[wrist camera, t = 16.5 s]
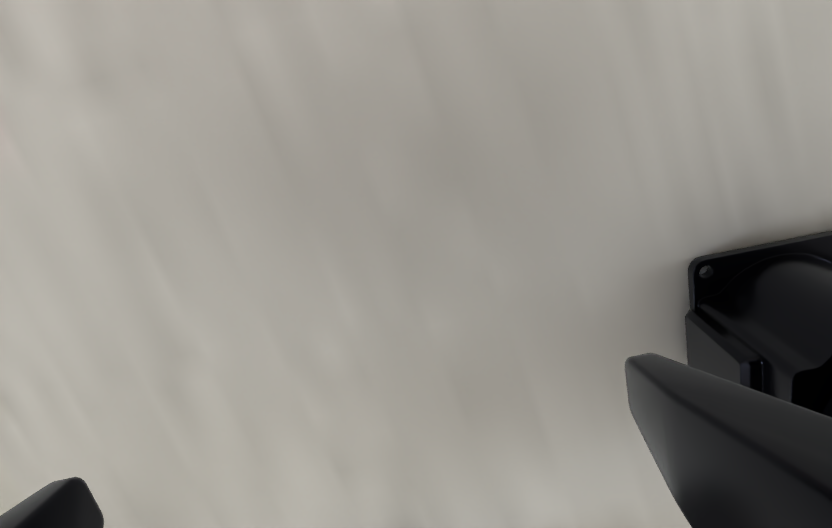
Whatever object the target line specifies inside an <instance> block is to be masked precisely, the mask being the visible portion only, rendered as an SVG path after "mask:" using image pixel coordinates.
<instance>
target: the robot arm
mask: <svg viewBox="0 0 832 528" xmlns="http://www.w3.org/2000/svg"><path fill="white" fill-rule="evenodd" d="M704 266H707V267H708V268H707V271H706V272H705V273H704V274H702V275H700V274H699V272H700V269H701V268H702V267H704ZM688 280H689V299H690V310H689V311H688V313H687V314H686V316H685V324H686V341H687V359H688V365H685V364H682V363H679V362H677V361H674V360H671V359H668V358H665V357H663V356H660V355H657V354H654V353H646V354H642V355H637V356H633V357H629V358H628V359H627V360H626V362H625V373H626V382H627V392H628V401H629V406H630V410H631V413H632V415H633V418H634V420H635V422H636V424H637V426H638V428H639V430H640V432H641V434H642V436H643V438H644V440H645V442H646V444H647V446H648V448H649V450H650V452H651V454H652V456H653V458H654V460H655V462H656V464H657V466H658V468H659V470H660V472H661V474H662V476H663V478H664V480H665V482H666V484H667V486H668V488H669V490H670V492H671V493H672V495H673V497H674V499H675V501H676V503H677V504H678V506H679V508H680V509H681V511H682V512H683V514H684V516H685V517H686V519H687V520H688V522H689V523H690V525H691V527H692V528H832V231H829V232H824V233H819V234H813V235H808V236H803V237H798V238H793V239H788V240H783V241H778V242H772V243H767V244H762V245H757V246H752V247H747V248H742V249H737V250H732V251H726V252H721V253H716V254H711V255H706V256H701V257H698V258H695V259H694V260H693V261H692V262H691V263H690V265H689V268H688ZM103 526H104V519H103V515H102V512H101V510H100V508H99V506H98V505H97V503H96V501H95V499H94V497H93V495H92V493H91V492H90V490H89V488H88V486H87V484H86V483H85V481H84V480H82V479H81V478H78V477H72V478H68V479H63V480H58V481H54V482H52V483H50V484H48V485H47V486H45V487H44V488H42V489H41V490H39V491H37V492H36V493H34V494H33V495H31V496H30V497H28V498H27V499H25V500H24V501H22V502H21V503H19V504H18V505H16V506H15V507H13V508H12V509H10V510H9V511H7V512H6V513H4V514H2V515H1V516H0V528H103Z"/></svg>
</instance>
